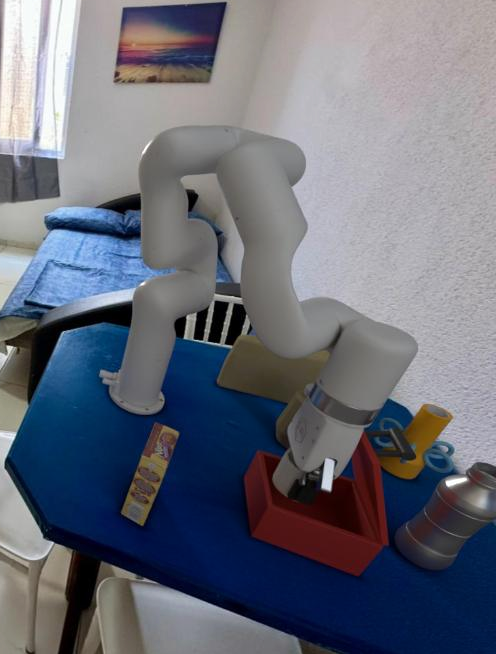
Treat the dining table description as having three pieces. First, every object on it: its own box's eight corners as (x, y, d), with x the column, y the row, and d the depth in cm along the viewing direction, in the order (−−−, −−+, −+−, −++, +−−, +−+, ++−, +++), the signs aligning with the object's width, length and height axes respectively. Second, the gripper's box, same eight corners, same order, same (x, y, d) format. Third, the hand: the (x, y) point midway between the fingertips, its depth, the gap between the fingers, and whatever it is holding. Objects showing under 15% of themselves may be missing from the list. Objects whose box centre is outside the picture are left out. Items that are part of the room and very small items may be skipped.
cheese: (220, 396, 98) (241, 346, 91) (212, 372, 107) (230, 324, 100) (325, 416, 94) (355, 364, 86) (307, 389, 102) (334, 339, 95)
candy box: (145, 528, 69) (167, 467, 61) (120, 514, 71) (138, 454, 63) (158, 491, 75) (180, 431, 68) (135, 479, 77) (153, 420, 70)
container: (275, 494, 66) (289, 469, 64) (269, 467, 71) (282, 443, 68) (317, 508, 64) (334, 483, 62) (309, 480, 69) (324, 455, 66)
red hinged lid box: (251, 536, 68) (268, 506, 64) (243, 478, 78) (258, 449, 74) (358, 576, 63) (383, 547, 59) (335, 508, 73) (356, 480, 69)
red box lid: (372, 463, 55) (428, 464, 52) (344, 404, 65) (390, 403, 62) (381, 545, 59) (434, 550, 56) (354, 478, 69) (397, 480, 66)
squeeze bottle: (323, 461, 82) (365, 393, 74) (279, 454, 83) (316, 386, 75) (303, 432, 89) (340, 366, 80) (263, 425, 90) (295, 360, 82)
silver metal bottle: (378, 536, 69) (445, 454, 59) (414, 534, 69) (487, 452, 60) (416, 577, 63) (498, 494, 53) (455, 574, 64) (543, 491, 54)
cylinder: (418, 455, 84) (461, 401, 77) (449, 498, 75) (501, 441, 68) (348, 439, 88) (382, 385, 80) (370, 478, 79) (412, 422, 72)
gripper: (299, 362, 67) (261, 440, 76) (327, 433, 53) (276, 519, 62) (355, 375, 64) (309, 454, 73) (399, 453, 51) (336, 540, 59)
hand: (294, 483), depth 67 cm, fingers closed on container, 5 cm apart
